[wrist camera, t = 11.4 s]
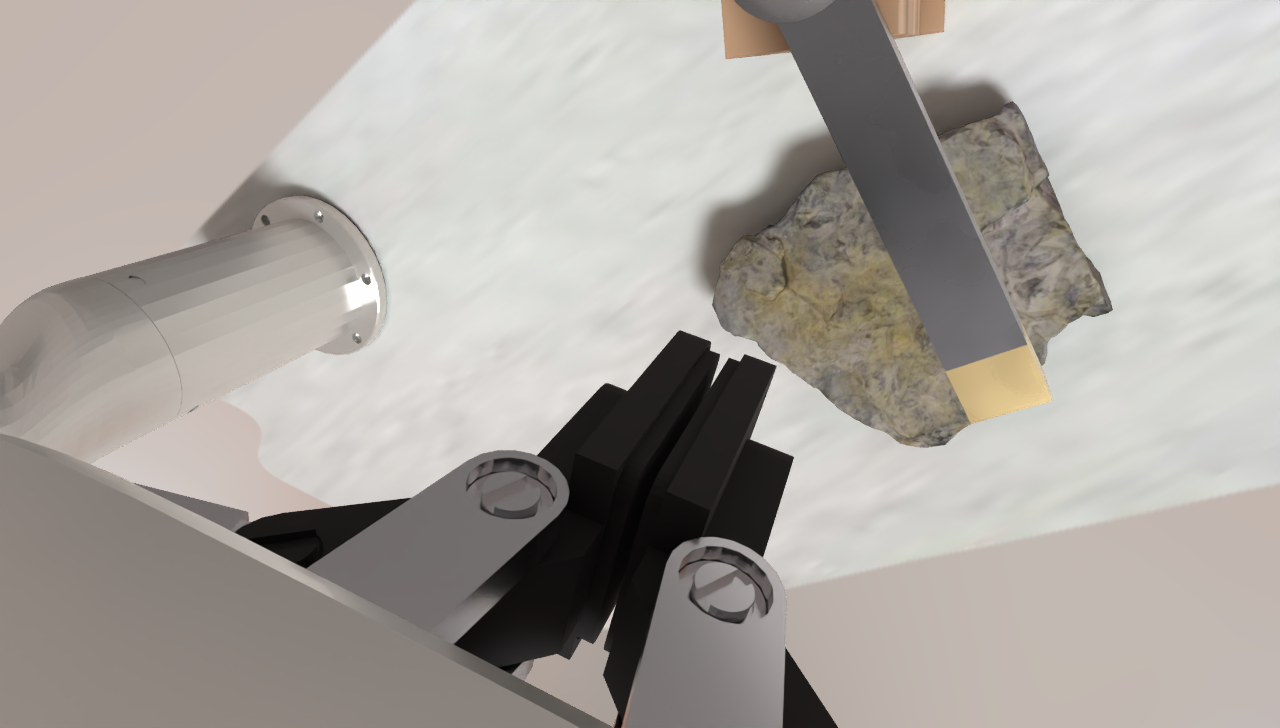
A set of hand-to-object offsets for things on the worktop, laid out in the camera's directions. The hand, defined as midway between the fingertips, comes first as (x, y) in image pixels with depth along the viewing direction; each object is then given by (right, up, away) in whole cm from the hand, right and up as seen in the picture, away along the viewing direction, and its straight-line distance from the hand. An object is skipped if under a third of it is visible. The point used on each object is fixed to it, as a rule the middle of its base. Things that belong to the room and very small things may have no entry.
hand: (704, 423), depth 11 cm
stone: (+14, +7, +25) cm, 30 cm away
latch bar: (+5, +6, +5) cm, 9 cm away
